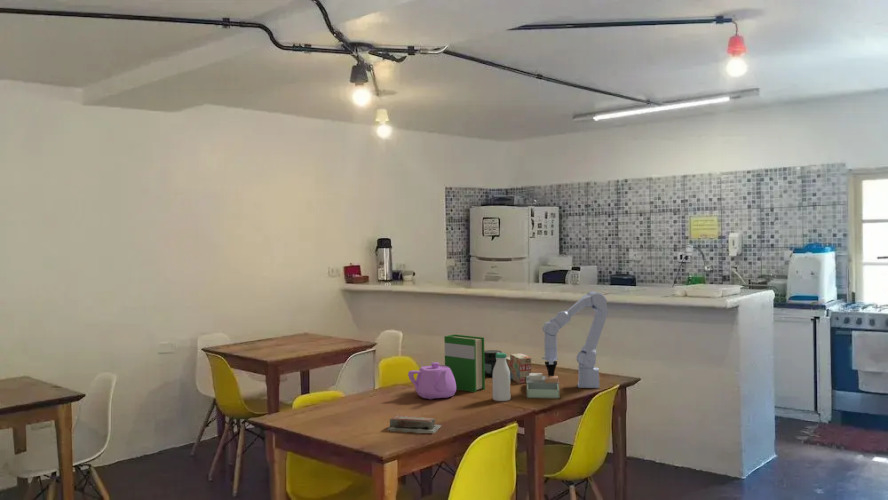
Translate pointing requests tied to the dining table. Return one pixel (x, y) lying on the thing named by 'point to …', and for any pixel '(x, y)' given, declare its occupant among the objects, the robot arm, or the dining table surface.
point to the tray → (543, 393)
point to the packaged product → (413, 424)
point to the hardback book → (466, 361)
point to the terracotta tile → (551, 379)
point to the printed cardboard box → (519, 367)
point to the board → (541, 384)
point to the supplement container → (490, 361)
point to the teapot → (434, 381)
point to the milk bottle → (501, 379)
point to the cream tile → (535, 376)
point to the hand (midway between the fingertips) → (551, 377)
